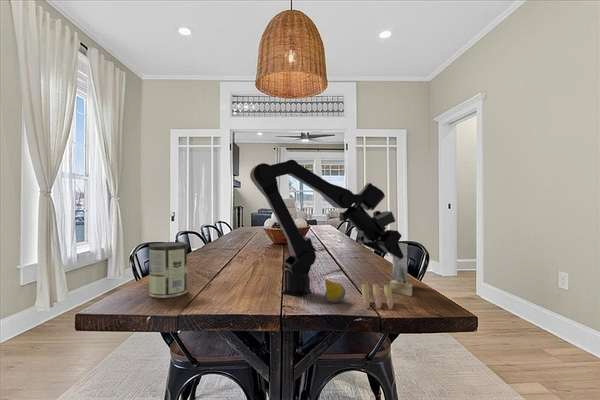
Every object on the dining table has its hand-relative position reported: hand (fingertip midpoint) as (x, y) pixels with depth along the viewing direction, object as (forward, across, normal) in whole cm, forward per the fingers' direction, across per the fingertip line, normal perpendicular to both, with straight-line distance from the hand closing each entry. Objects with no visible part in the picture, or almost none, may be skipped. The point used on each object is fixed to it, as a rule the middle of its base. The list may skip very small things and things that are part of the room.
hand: (394, 255), depth 113 cm
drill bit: (-11, -12, +25) cm, 30 cm away
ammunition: (-4, -17, +18) cm, 25 cm away
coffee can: (-41, +10, +54) cm, 69 cm away
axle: (+8, 0, +5) cm, 10 cm away
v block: (+5, -7, +9) cm, 12 cm away
